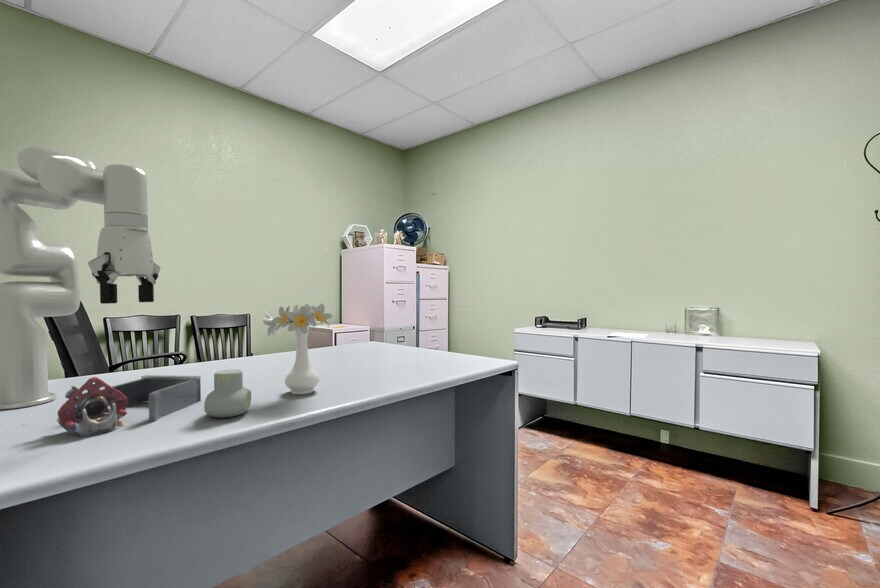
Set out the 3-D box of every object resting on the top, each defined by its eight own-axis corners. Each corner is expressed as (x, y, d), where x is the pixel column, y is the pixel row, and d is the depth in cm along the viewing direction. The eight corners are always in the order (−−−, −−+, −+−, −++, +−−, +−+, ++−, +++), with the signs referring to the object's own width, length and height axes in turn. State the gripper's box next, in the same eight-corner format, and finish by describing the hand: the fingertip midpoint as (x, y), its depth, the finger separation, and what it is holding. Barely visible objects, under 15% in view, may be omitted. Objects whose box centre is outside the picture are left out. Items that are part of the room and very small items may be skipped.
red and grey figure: (69, 432, 75) (56, 377, 79) (55, 457, 80) (43, 404, 84) (140, 416, 84) (125, 367, 88) (124, 439, 89) (110, 392, 93)
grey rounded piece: (216, 409, 98) (215, 368, 97) (253, 406, 100) (252, 366, 100) (201, 423, 87) (200, 377, 87) (243, 420, 89) (242, 375, 89)
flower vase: (267, 389, 116) (266, 303, 116) (332, 384, 121) (331, 302, 121) (261, 401, 104) (259, 305, 103) (334, 395, 109) (333, 303, 109)
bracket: (82, 420, 90) (81, 390, 90) (142, 399, 106) (142, 375, 106) (153, 421, 88) (153, 391, 88) (204, 401, 104) (203, 375, 104)
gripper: (142, 230, 96) (143, 302, 96) (71, 217, 79) (73, 304, 79) (172, 229, 95) (173, 301, 96) (107, 216, 78) (110, 303, 78)
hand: (128, 302), depth 87 cm, fingers open, 9 cm apart
